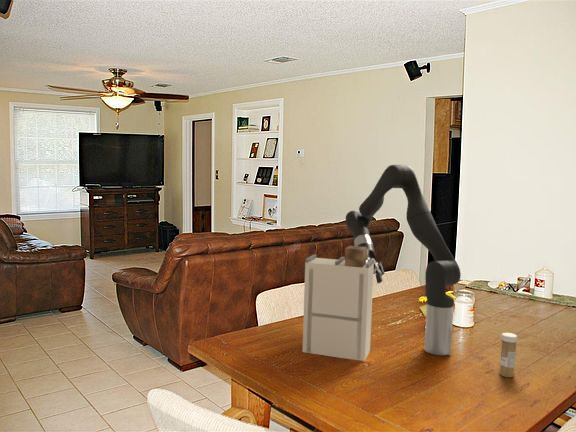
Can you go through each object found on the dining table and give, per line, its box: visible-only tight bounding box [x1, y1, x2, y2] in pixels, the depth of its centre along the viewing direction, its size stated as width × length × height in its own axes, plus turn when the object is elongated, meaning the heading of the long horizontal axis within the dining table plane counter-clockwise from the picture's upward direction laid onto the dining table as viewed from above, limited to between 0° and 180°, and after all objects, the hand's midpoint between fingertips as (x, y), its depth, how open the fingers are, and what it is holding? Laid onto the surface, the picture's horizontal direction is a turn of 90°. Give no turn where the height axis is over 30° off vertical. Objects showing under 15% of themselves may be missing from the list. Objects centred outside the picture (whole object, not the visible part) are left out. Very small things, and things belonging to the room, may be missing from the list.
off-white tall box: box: [302, 253, 375, 362], centre depth 180 cm, size 22×11×33 cm, turn 72°
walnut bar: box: [344, 245, 369, 268], centre depth 182 cm, size 6×22×6 cm, turn 162°
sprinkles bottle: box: [498, 332, 518, 378], centre depth 164 cm, size 5×5×14 cm
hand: (371, 278), depth 200 cm, fingers open, 8 cm apart
